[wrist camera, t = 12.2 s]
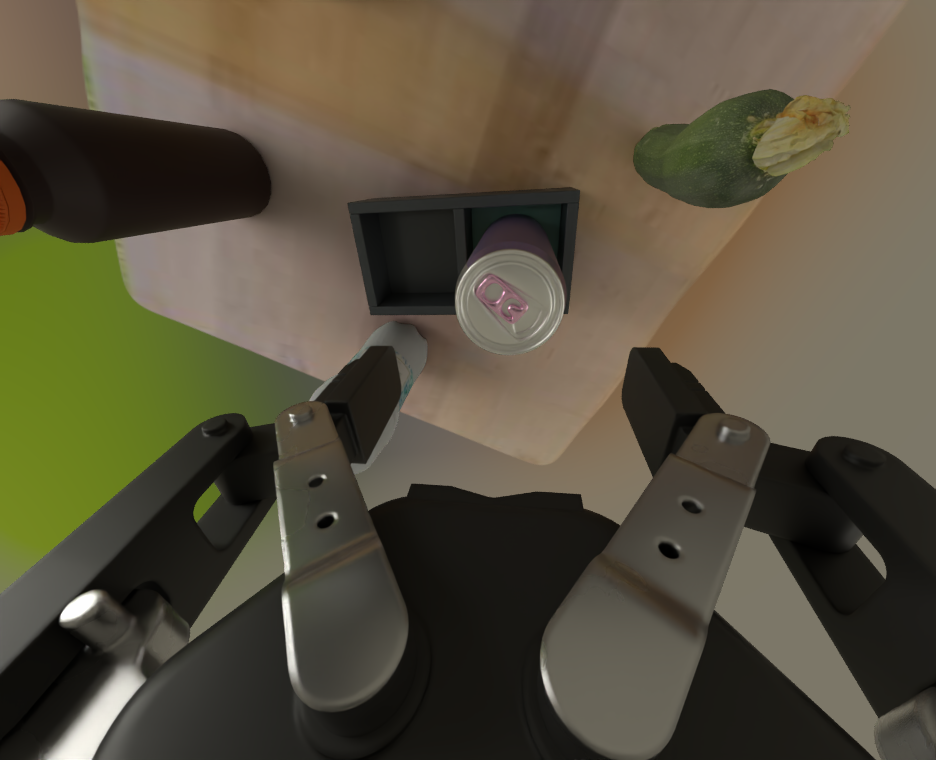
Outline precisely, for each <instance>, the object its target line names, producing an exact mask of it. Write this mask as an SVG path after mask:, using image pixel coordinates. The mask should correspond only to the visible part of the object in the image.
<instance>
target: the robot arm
mask: <svg viewBox="0 0 936 760" xmlns="http://www.w3.org/2000/svg"><path fill="white" fill-rule="evenodd" d="M400 397H401V380H400V375H399V369H398V364H397V359H396V353H395V350H394V348H393V346H370V347H369V348H368V349H367V350H366V352H365V353H364V354H363V355H362V356H361V357H360V359H356V360H354V361H352V362H351V363H349V364H347V365H346V366H344V368H343V369H342V370H341V371H340V372H339V373H338V375H336V377H335V378H334V379H333V380H332V382H330V383H329V384H328V386H327V387H326V388H325V389H324V390H323V391H322V392H321V393H320V395H319V396H318V397H317V398H316V399H315V400H314V401H307V402H302V403H299V404H296V405H293V406H291V407H289V408H287V409H286V410H284V411H283V412H281V413H280V414H279V415H278V416H277V418H276V420H275V423H273V424H267V425H261V426H255V427H249V425H248V423H247V421H246V419H245V417H244V416H243V415H241V414H237V413H231V414H224V415H219V416H216V417H214V418H211V419H208V420H207V421H204V422H202V423H201V424H199V425H197V426H196V427H195V428H193V429H192V430H191V431H190V432H189V433H188V434H186V435H185V436H184V437H183V438H182V439H181V440H179V441H178V442H177V443H176V444H175V445H174V446H172V447H171V448H170V449H169V450H168V451H167V452H166V453H164V454H163V455H162V456H161V457H160V458H158V459H157V460H156V461H155V462H154V463H153V464H151V465H150V466H149V467H148V468H147V469H146V470H144V472H142V473H141V474H140V475H139V476H137V477H136V478H135V479H134V480H133V481H132V482H130V483H129V484H128V485H127V486H126V487H125V488H124V489H122V490H121V491H120V492H119V493H118V494H116V495H115V496H114V497H113V498H112V499H111V500H110V501H108V502H107V503H106V504H105V505H104V506H102V507H101V508H100V509H99V510H98V511H97V512H95V513H94V514H93V515H92V516H91V517H90V518H88V519H87V520H86V521H85V522H84V523H83V524H81V525H80V526H79V527H78V528H77V529H76V530H74V531H73V532H72V533H71V534H70V535H69V536H67V537H66V538H65V539H64V540H63V541H62V542H60V543H59V544H58V545H57V546H56V547H55V548H54V549H52V550H51V551H50V552H49V553H48V554H46V555H45V556H44V557H43V558H42V559H41V560H40V561H38V562H37V563H36V564H35V565H34V566H32V567H31V568H30V569H29V570H28V571H27V572H25V573H24V574H23V575H22V576H21V577H20V578H18V579H17V580H16V581H15V582H14V583H13V584H11V585H10V586H9V587H8V588H7V589H6V590H4V591H3V592H2V593H1V594H0V760H875V759H874V758H873V757H872V756H871V755H870V754H869V753H868V752H867V751H866V750H865V749H864V748H863V747H862V746H861V745H860V744H859V743H858V742H857V741H855V740H854V739H853V738H852V737H851V736H850V735H849V734H848V733H847V732H846V731H845V730H844V729H843V728H841V727H840V726H839V725H838V724H837V723H836V722H835V721H834V720H833V719H832V718H831V717H829V716H828V715H827V714H826V713H825V712H824V711H823V710H822V709H821V708H820V707H819V706H818V705H816V704H815V703H814V702H813V701H812V700H811V699H810V698H809V697H808V696H807V695H806V694H805V693H804V692H803V691H801V690H800V689H799V688H798V687H797V686H796V685H795V684H794V683H793V682H791V680H789V679H788V678H787V677H786V676H785V675H784V674H783V673H782V672H781V671H780V670H779V669H777V667H775V666H774V665H773V664H772V663H771V662H770V661H769V660H768V659H767V658H766V657H765V656H764V655H762V654H761V653H760V652H759V651H758V650H757V649H756V648H755V647H754V646H753V645H752V644H751V643H749V642H748V641H747V640H746V639H745V638H744V637H743V636H742V635H741V634H740V633H739V632H738V631H737V630H735V629H734V628H733V627H732V626H731V625H730V624H729V623H728V622H727V621H726V620H725V619H724V618H722V617H721V616H720V615H719V614H718V613H717V612H716V611H715V610H714V608H715V605H716V603H717V600H718V597H719V594H720V592H721V588H722V586H723V583H724V580H725V578H726V575H727V572H728V569H729V566H730V564H731V561H732V558H733V555H734V552H735V549H736V547H737V544H738V541H739V538H740V535H741V533H742V530H743V527H747V528H750V529H753V530H757V531H760V532H763V533H766V534H769V536H770V538H771V540H772V541H773V543H774V544H775V546H776V548H777V549H778V551H779V553H780V555H781V556H782V558H783V560H784V561H785V563H786V564H787V566H788V568H789V570H790V571H791V573H792V575H793V576H794V578H795V580H796V581H797V583H798V585H799V586H800V588H801V590H802V591H803V593H804V595H805V596H806V598H807V600H808V601H809V603H810V604H811V606H812V608H813V610H814V611H815V613H816V615H817V616H818V618H819V620H820V621H821V623H822V625H823V626H824V628H825V630H826V631H827V633H828V635H829V636H830V638H831V640H832V641H833V643H834V645H835V646H836V648H837V649H838V651H839V653H840V654H841V656H842V658H843V660H844V661H845V663H846V665H847V666H848V668H849V670H850V671H851V673H852V675H853V676H854V678H855V680H856V681H857V683H858V685H859V686H860V688H861V690H862V691H863V693H864V695H865V696H866V698H867V700H868V701H869V703H870V705H871V706H872V708H873V710H874V711H875V713H876V715H877V716H878V718H879V719H878V720H877V722H876V725H875V728H874V738H875V744H876V747H877V750H878V753H879V755H880V758H881V760H936V489H934V488H933V487H932V486H931V485H930V484H928V483H927V482H926V481H925V480H924V479H923V478H921V477H920V476H919V475H918V474H916V473H915V472H914V471H913V470H912V469H911V468H909V467H908V466H907V465H906V464H904V463H903V462H902V461H901V460H899V459H898V458H897V457H895V456H893V455H892V454H890V453H889V452H887V451H884V450H883V449H880V448H878V447H876V446H874V445H871V444H868V443H866V442H863V441H859V440H855V439H851V438H846V437H838V436H837V437H836V436H831V437H824V438H821V439H819V440H818V442H817V443H816V445H815V446H814V448H813V449H812V451H811V452H810V451H805V450H801V449H796V448H791V447H787V446H782V445H778V444H774V443H770V438H769V436H768V434H767V433H766V432H765V431H764V430H763V429H761V428H760V427H759V426H757V425H756V424H754V423H752V422H750V421H748V420H746V419H744V418H741V417H738V416H734V415H730V414H725V412H724V411H723V410H722V409H721V408H720V406H719V405H718V404H717V403H716V402H715V401H714V399H713V398H712V397H711V396H710V395H709V393H708V392H707V391H705V388H704V387H703V386H702V385H701V383H698V380H697V379H696V378H695V376H694V375H693V374H692V373H691V372H690V371H689V370H687V369H686V368H684V367H682V366H681V365H679V364H677V363H670V361H669V360H668V359H667V357H666V356H665V355H664V353H663V352H662V351H661V349H660V348H641V347H634V348H632V349H631V351H630V354H629V359H628V364H627V368H626V373H625V378H624V383H623V388H622V404H623V408H624V410H625V412H626V415H627V417H628V419H629V422H630V424H631V426H632V429H633V431H634V434H635V436H636V438H637V441H638V443H639V446H640V448H641V450H642V453H643V455H644V457H645V460H646V462H647V464H648V467H649V469H650V471H651V474H652V476H653V479H652V480H651V482H650V483H649V484H648V486H647V488H646V489H645V490H644V492H643V493H642V495H641V496H640V498H639V499H638V501H637V502H636V504H635V505H634V507H633V508H632V510H631V511H630V512H629V514H628V515H627V517H626V518H625V520H624V521H623V523H622V524H621V526H620V525H619V524H617V523H615V522H614V521H612V520H610V519H608V518H606V517H604V516H602V515H600V514H597V513H595V512H593V511H590V510H587V509H583V504H582V498H581V494H567V493H552V492H531V493H524V494H517V495H510V496H503V497H496V498H492V497H486V496H483V495H480V494H476V493H473V492H470V491H466V490H462V489H459V488H456V487H452V486H442V485H441V486H440V485H426V484H411V486H410V489H409V492H408V495H407V497H401V498H397V499H394V500H391V501H388V502H385V503H383V504H381V505H378V506H376V507H374V508H372V509H371V510H369V511H368V509H367V506H366V503H365V501H364V498H363V496H362V493H361V491H360V488H359V486H358V483H357V480H356V478H355V475H354V472H353V470H352V467H351V463H355V464H366V463H367V461H368V460H369V458H370V456H371V454H372V452H373V450H374V448H375V446H376V444H377V442H378V440H379V439H380V437H381V435H382V433H383V431H384V429H385V427H386V425H387V423H388V421H389V419H390V417H391V416H392V414H393V412H394V410H395V408H396V406H397V404H398V402H399V400H400ZM213 482H214V483H215V485H216V486H217V488H218V489H219V491H220V492H221V495H220V496H219V497H218V499H217V500H216V501H215V502H214V503H213V505H212V506H211V507H210V508H209V509H208V511H207V512H206V513H205V514H204V515H203V517H202V518H201V519H200V520H199V521H198V523H196V521H195V520H194V516H193V511H194V507H195V504H196V502H197V500H198V499H199V498H200V497H201V496H202V494H203V493H204V492H205V491H206V490H207V489H208V488H209V486H211V484H212V483H213ZM276 499H277V503H278V513H279V522H280V531H281V541H282V550H283V558H284V568H285V572H284V573H283V574H282V575H280V576H279V577H278V578H276V579H275V580H273V581H272V582H271V583H269V584H268V585H267V586H265V587H264V588H263V589H261V590H260V591H259V592H257V593H256V594H255V595H253V596H252V597H251V598H249V599H248V600H247V601H245V602H244V603H242V604H241V605H240V606H238V607H237V608H236V609H234V610H233V611H232V612H230V613H229V614H228V615H226V616H225V617H224V618H222V619H221V620H219V621H218V622H217V623H215V624H214V625H213V626H211V627H210V628H209V629H207V630H206V631H205V632H203V633H202V634H201V635H199V636H198V637H197V638H195V639H194V640H193V641H191V642H190V643H188V642H189V638H190V628H191V627H192V625H193V624H194V622H195V621H196V619H197V618H198V616H199V614H200V613H201V611H202V610H203V608H204V607H205V605H206V604H207V603H208V601H209V600H210V598H211V597H212V595H213V594H214V592H215V591H216V589H217V588H218V586H219V584H220V583H221V582H222V580H223V579H224V577H225V575H226V574H227V573H228V571H229V570H230V568H231V566H232V565H233V563H234V562H235V560H236V559H237V557H238V556H239V554H240V553H241V551H242V550H243V548H244V547H245V545H246V544H247V542H248V541H249V539H250V538H251V536H252V535H253V533H254V532H255V530H256V529H257V527H258V526H259V524H260V523H261V521H262V520H263V518H264V517H265V515H266V514H267V512H268V511H269V509H270V508H271V506H272V505H273V503H274V502H275V500H276ZM863 535H864V536H865V537H866V538H867V539H868V540H869V542H870V543H871V544H872V545H873V546H874V548H875V549H876V550H877V551H878V552H879V554H880V555H881V557H882V558H883V560H884V563H885V566H886V571H887V575H886V580H885V579H884V578H883V576H882V575H881V574H880V573H879V571H878V570H877V569H876V568H875V566H874V565H873V564H872V563H871V562H870V560H869V559H868V558H867V557H866V556H865V554H864V553H863V552H862V551H861V549H860V548H859V547H858V546H857V545H856V543H857V541H858V540H859V539H860V538H861V537H862V536H863Z"/></svg>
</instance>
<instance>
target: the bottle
mask: <svg viewBox="0 0 936 760" xmlns="http://www.w3.org/2000/svg"><path fill="white" fill-rule="evenodd" d="M370 346H393V348H394V350H395V353H396V359H397V364H398V369H399V375H400V380H401V397H400V400H399V402H398V404H397V406H396V408H395V410H394V412H393V414H392V416H391V417H390V419H389V421H388V423H387V425H386V427H385V429H384V431H383V433H382V435H381V437H380V439H379V440H378V442H377V444H376V446H375V448H374V450H373V452H372V454H371V456H370V458H369V460H368V461H367V463H366V464H355V463H351V467H352V470H353V472H354V474H357V473H360V472H363V471H364V470H366V469H368V468H369V467H370V466H371V465H372V463H373V462H374V461H375V459H376V458H377V456H378V455H379V454H380V452H381V451H382V449H383V448H384V447H385V446H386V444H387V443H388V442H389V441H390V440H391V438H392V436H393V433H394V429H395V428H396V426H397V423H398V419H399V411H400V409H401V407H402V405H403V403H404V401H405V399H406V397H407V395H408V393H409V391H410V389H411V387H412V385H413V384H414V382H415V381H416V379H417V378H418V376H419V375H420V373H421V372H422V370H423V368H424V366H425V364H426V360H427V349H428V346H427V341H426V339H425V338H422V337H421V335H420V334H419V333H418V332H417V329H416V327H415V326H414V325H412V324H401V323H398V322H397V321H391V322H388V323H386V324H384V325H383V326H381V327H379V328H378V329H377V330H375V331H374V332H373V333H372V335H371V336H370V337H369V338H368V340H367V341H366V342H365V344H364V345H363V347H362V348H361V350H360V351H359V352H358V353H357V354H356V355H355V356H354V357H353V358H352V360H351V361H350V362H349V363H351V362H352V361H354V360H356V359H360V357H361V356H362V355H363V354H364V353H365V352H366V350H367V349H368V348H369V347H370ZM349 363H348V364H349ZM335 377H336V375H335V376H333V377H331V378H329V379H328V380H327V381H325V383H324V384H323V385H322V386H320V387H319V388H318V389H317V390H316V391H315V392H314V393H313V395H312V397H311V399H310V400H309V401H314V400H315V399H316V398H317V397H318V396H319V395H320V393H321V392H322V391H323V390H324V389H325V388H326V387H327V386H328V384H329V383H330V382H332V380H333V379H334V378H335Z"/></svg>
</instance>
